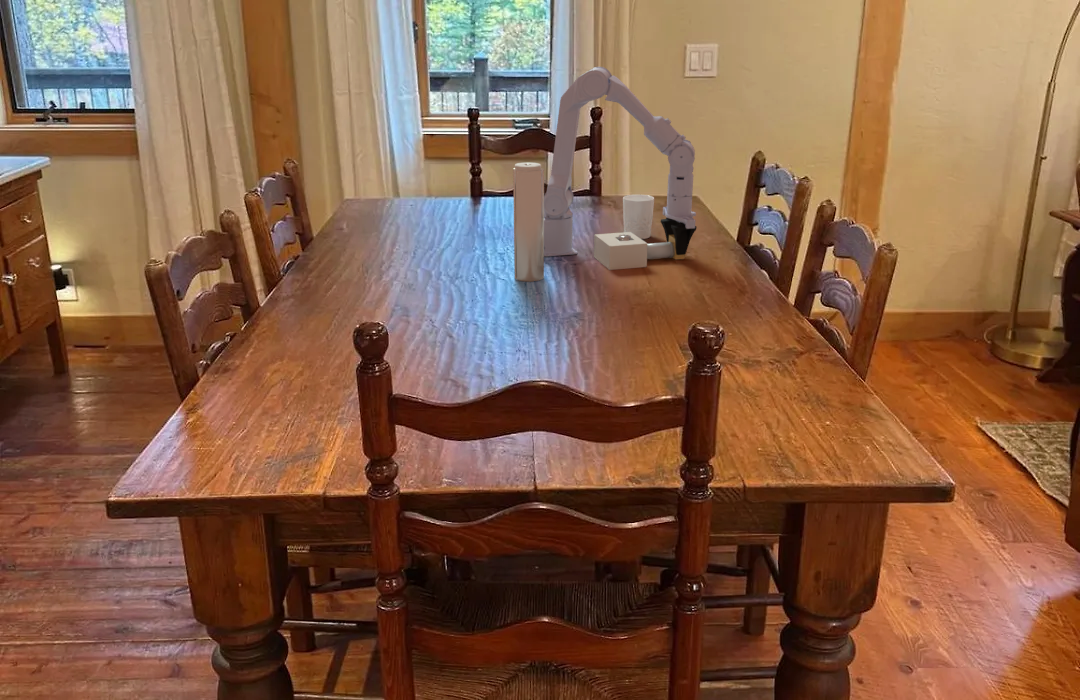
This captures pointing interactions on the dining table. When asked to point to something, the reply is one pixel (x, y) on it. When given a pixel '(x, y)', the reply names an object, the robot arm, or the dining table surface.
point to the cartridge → (663, 250)
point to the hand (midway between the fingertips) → (676, 251)
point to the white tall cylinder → (528, 221)
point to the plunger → (624, 237)
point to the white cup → (638, 215)
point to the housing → (620, 251)
